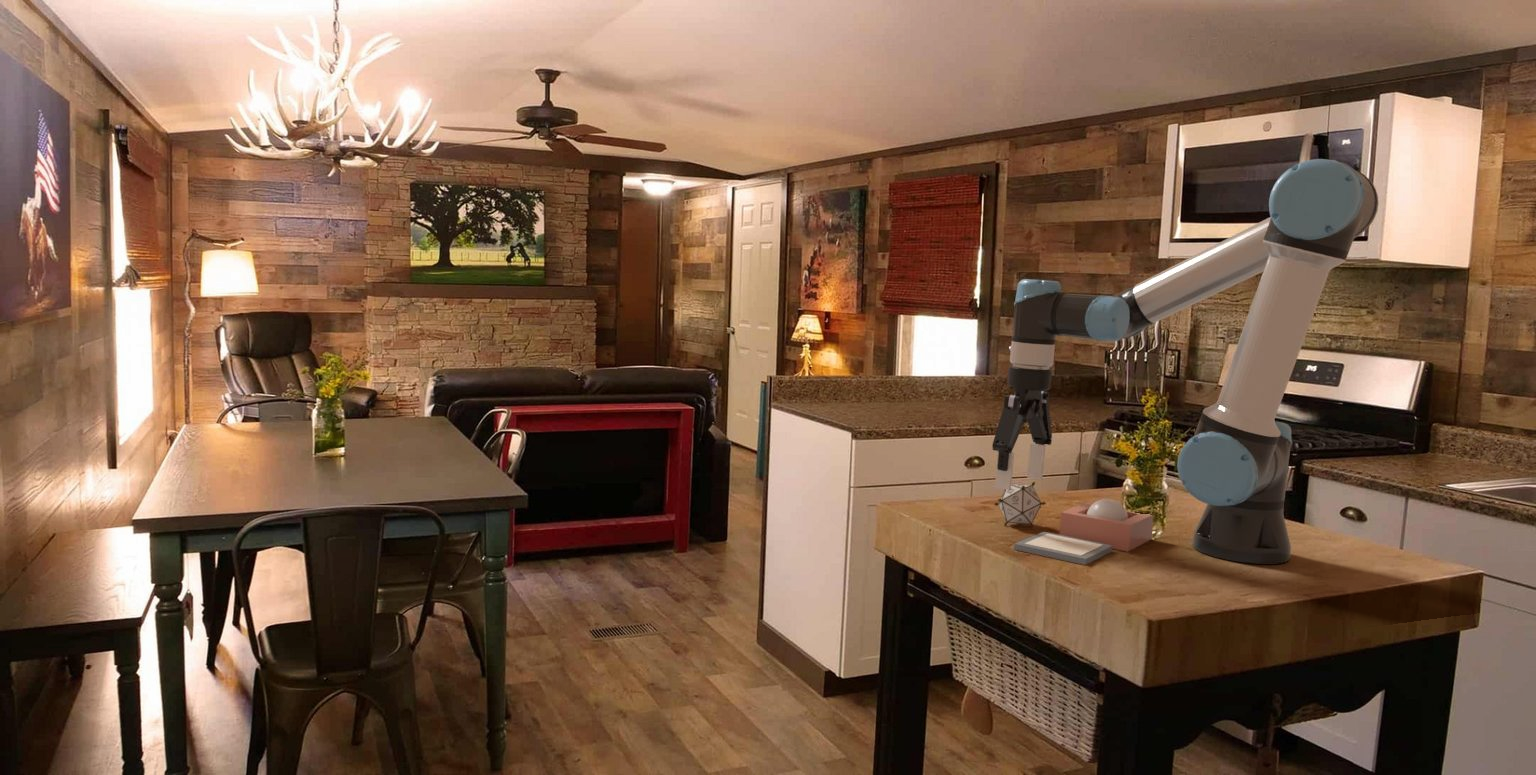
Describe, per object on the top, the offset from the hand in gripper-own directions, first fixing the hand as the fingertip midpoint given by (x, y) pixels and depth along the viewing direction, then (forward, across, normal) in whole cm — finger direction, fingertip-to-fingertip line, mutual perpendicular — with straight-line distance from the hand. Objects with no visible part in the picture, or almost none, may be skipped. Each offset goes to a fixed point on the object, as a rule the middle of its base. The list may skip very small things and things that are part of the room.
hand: (1019, 483), depth 189 cm
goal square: (+7, +11, +14) cm, 19 cm away
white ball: (+8, -3, +16) cm, 18 cm away
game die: (+8, 0, +1) cm, 8 cm away
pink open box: (+7, -3, +16) cm, 17 cm away
